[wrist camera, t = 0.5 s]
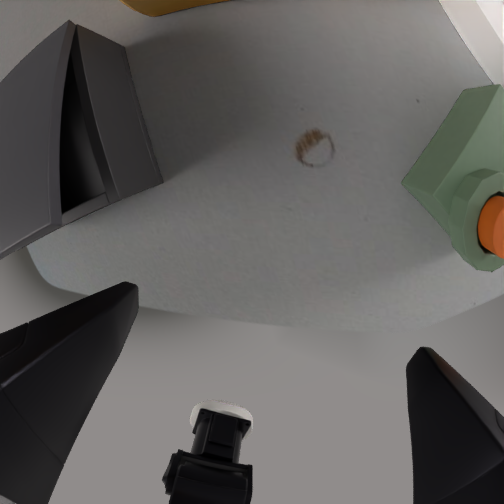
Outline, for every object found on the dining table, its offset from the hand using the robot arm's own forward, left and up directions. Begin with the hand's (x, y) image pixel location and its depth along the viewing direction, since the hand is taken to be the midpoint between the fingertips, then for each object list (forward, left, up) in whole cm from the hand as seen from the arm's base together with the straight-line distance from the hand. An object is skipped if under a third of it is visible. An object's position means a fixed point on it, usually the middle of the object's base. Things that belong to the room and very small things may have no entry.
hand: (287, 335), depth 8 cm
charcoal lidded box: (+2, +18, -14) cm, 23 cm away
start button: (+6, -13, -8) cm, 16 cm away
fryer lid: (+2, +18, -5) cm, 18 cm away
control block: (+9, -14, -14) cm, 22 cm away
